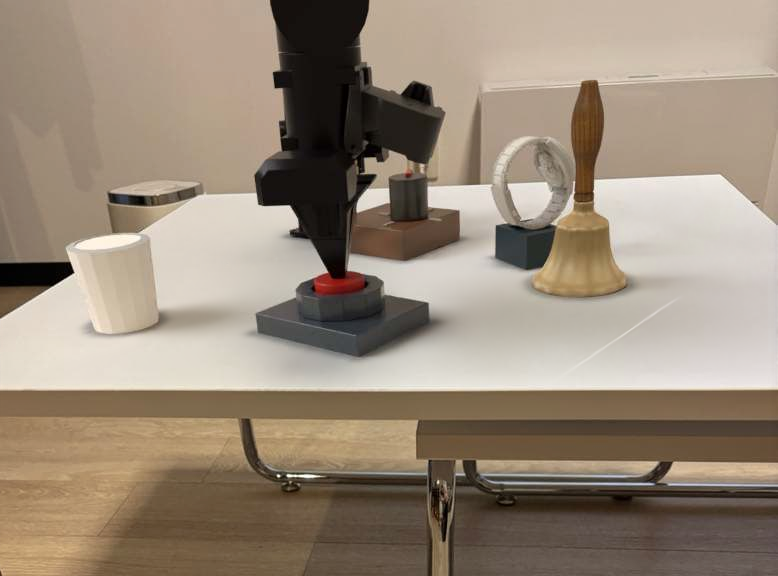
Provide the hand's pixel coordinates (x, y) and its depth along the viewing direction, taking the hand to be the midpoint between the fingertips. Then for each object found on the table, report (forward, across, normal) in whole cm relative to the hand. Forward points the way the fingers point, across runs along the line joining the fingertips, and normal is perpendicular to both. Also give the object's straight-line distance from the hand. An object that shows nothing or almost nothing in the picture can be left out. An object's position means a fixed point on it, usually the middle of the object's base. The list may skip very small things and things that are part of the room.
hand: (339, 277), depth 65 cm
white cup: (+4, +2, +20) cm, 20 cm away
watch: (+4, +20, -15) cm, 25 cm away
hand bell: (+4, +11, -19) cm, 23 cm away
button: (+2, 0, 0) cm, 2 cm away
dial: (+1, +26, -2) cm, 26 cm away
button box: (+4, 0, 0) cm, 4 cm away
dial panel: (+4, +27, 0) cm, 27 cm away
